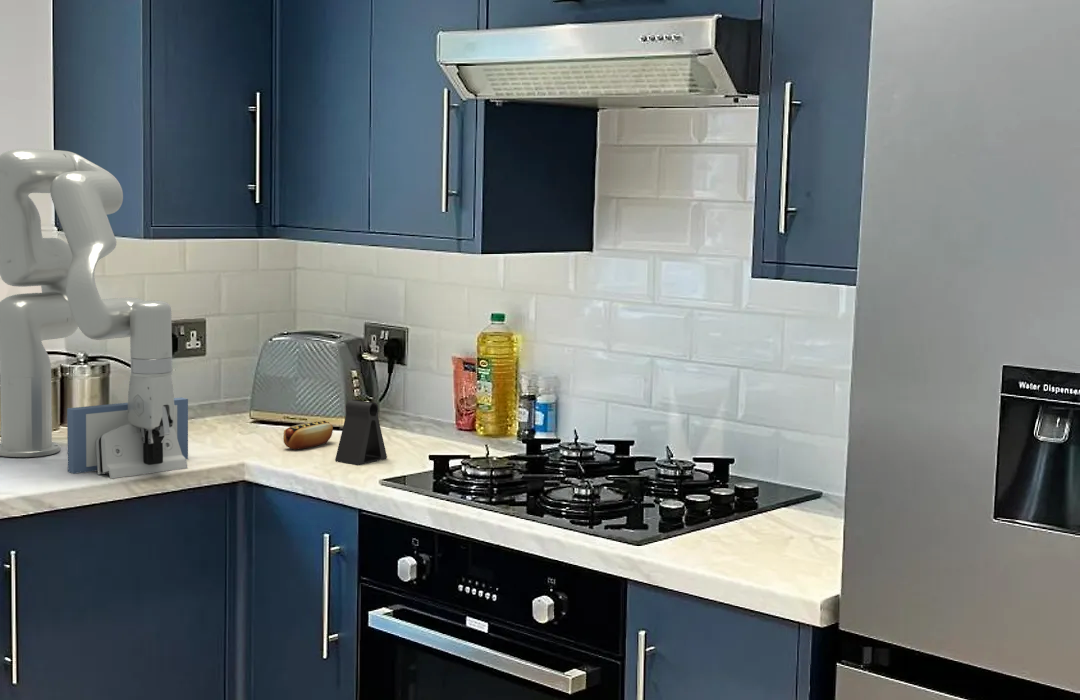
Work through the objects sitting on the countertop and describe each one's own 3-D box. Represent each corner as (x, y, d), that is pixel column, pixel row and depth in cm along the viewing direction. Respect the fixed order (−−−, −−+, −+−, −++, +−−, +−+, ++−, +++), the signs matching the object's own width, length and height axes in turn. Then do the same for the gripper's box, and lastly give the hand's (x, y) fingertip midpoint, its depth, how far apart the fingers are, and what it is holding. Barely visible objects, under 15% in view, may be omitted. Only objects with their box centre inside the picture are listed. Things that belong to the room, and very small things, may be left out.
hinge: (109, 478, 264) (100, 425, 265) (97, 483, 267) (88, 430, 268) (189, 467, 275) (180, 416, 277) (177, 472, 279) (167, 421, 280)
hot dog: (338, 443, 305) (338, 420, 304) (297, 453, 294) (298, 429, 293) (320, 441, 308) (320, 418, 307) (279, 450, 296) (279, 426, 295)
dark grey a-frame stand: (364, 455, 293) (365, 397, 292) (387, 459, 290) (388, 400, 288) (334, 461, 286) (335, 402, 284) (357, 465, 282) (358, 405, 281)
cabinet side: (67, 471, 269) (67, 408, 267) (181, 456, 285) (181, 397, 284) (74, 473, 267) (73, 410, 266) (188, 459, 284) (188, 399, 282)
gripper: (113, 364, 271) (115, 460, 273) (153, 372, 260) (155, 471, 262) (149, 361, 276) (151, 455, 278) (190, 369, 265) (191, 466, 267)
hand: (153, 463), depth 270 cm, fingers closed
